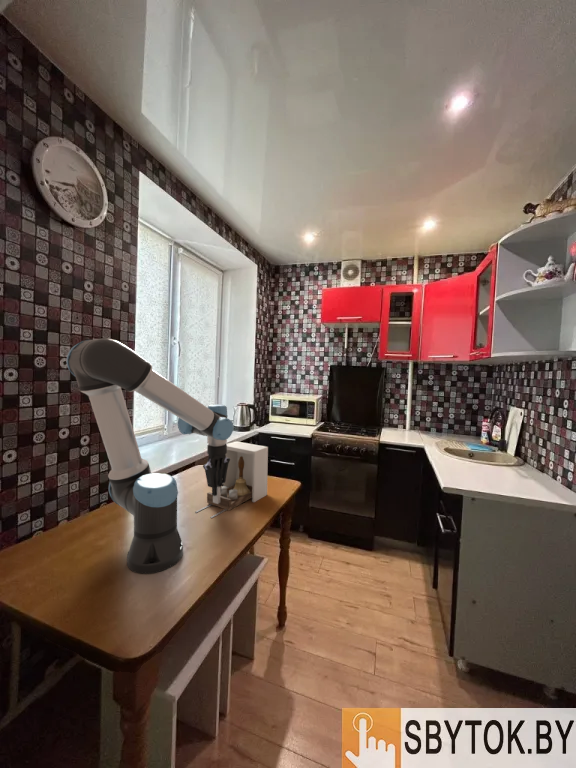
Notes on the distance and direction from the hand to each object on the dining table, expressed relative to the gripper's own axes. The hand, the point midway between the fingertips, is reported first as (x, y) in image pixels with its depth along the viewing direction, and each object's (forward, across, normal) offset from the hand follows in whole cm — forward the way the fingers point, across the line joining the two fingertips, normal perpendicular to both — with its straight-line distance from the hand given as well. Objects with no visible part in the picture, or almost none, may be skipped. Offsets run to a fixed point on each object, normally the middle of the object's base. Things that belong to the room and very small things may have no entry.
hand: (216, 502), depth 124 cm
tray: (+2, +11, 0) cm, 11 cm away
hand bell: (+1, +15, 0) cm, 15 cm away
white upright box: (+2, +8, 0) cm, 8 cm away
